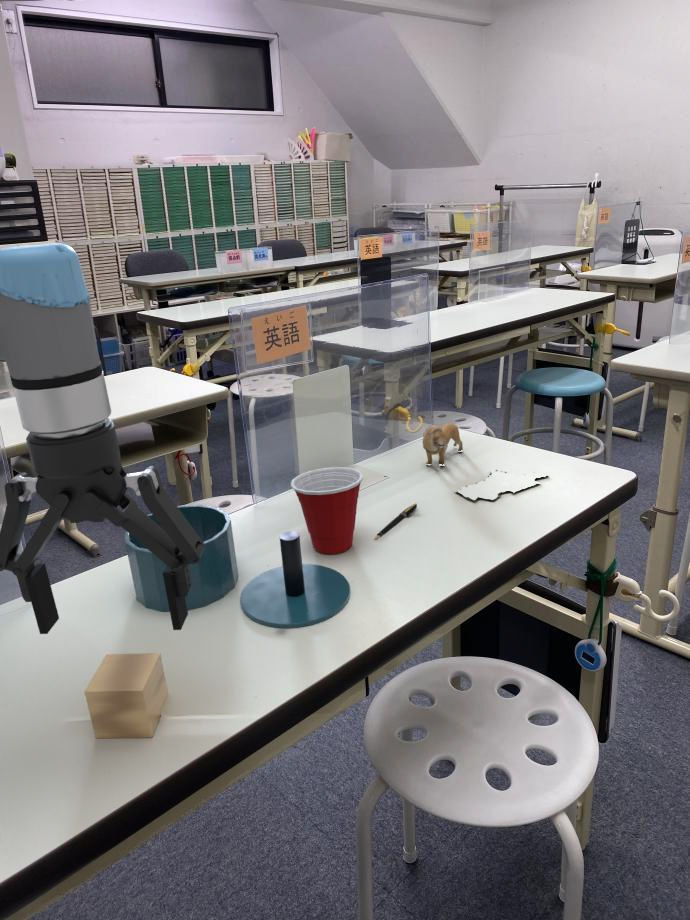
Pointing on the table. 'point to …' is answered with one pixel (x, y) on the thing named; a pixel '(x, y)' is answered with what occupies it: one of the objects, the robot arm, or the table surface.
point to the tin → (207, 575)
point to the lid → (294, 590)
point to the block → (127, 695)
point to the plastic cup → (329, 506)
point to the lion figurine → (440, 440)
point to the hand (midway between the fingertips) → (115, 624)
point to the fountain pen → (397, 520)
